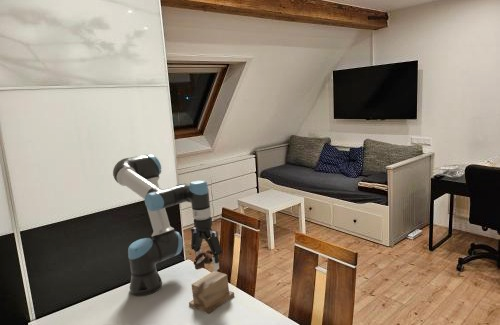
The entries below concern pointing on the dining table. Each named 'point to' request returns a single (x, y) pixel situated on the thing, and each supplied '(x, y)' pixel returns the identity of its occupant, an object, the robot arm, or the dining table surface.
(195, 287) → the stand
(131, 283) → the robot arm
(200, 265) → the broken clay pot
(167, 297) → the dining table surface
